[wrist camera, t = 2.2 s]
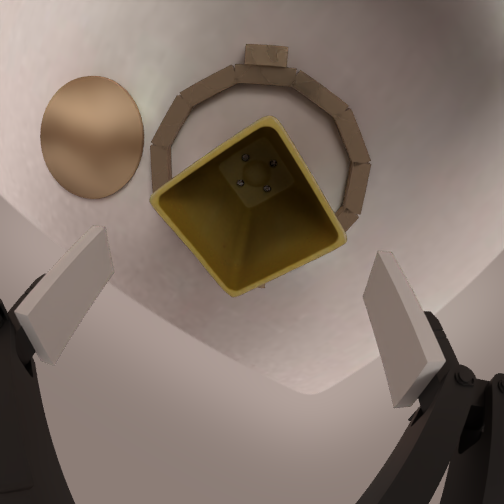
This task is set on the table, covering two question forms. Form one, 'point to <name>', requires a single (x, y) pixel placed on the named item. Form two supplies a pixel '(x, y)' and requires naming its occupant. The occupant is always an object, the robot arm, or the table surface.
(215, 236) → the flower pot
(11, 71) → the table surface
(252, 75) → the socket ring
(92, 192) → the coaster
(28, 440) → the robot arm
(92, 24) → the table surface
